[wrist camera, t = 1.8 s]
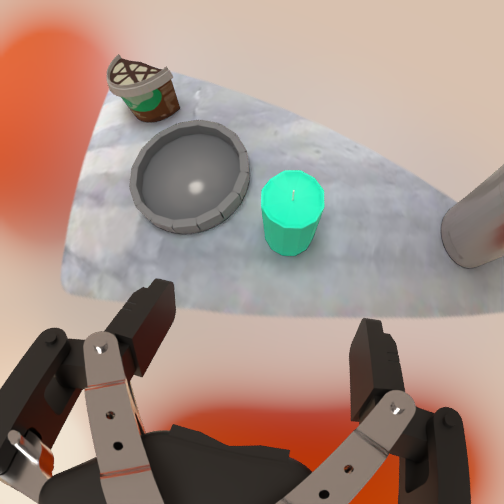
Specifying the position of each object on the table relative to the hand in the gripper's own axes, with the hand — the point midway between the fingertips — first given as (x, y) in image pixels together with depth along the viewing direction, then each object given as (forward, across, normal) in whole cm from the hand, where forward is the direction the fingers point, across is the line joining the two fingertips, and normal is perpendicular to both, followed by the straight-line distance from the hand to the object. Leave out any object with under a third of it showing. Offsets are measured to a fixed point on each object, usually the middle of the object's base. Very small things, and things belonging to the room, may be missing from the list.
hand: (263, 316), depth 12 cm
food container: (+37, +25, -4) cm, 45 cm away
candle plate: (+29, +14, +4) cm, 32 cm away
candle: (+25, 0, +8) cm, 26 cm away
